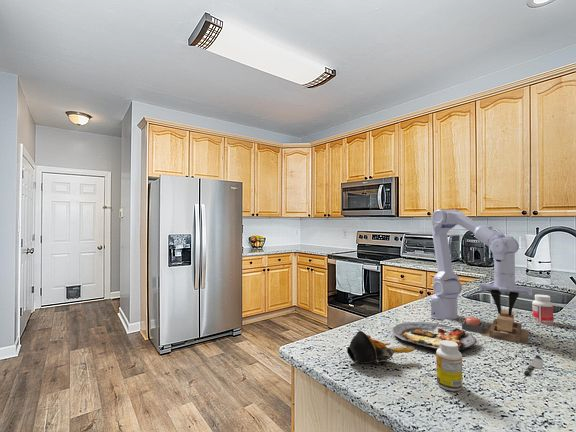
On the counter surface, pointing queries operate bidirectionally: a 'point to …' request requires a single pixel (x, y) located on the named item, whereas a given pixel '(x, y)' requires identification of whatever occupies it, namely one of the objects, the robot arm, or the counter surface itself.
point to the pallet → (517, 336)
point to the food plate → (432, 334)
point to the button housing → (473, 327)
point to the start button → (473, 321)
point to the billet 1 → (507, 315)
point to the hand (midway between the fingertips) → (504, 313)
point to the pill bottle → (542, 310)
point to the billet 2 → (505, 324)
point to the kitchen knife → (534, 365)
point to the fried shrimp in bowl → (372, 349)
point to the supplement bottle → (449, 366)
